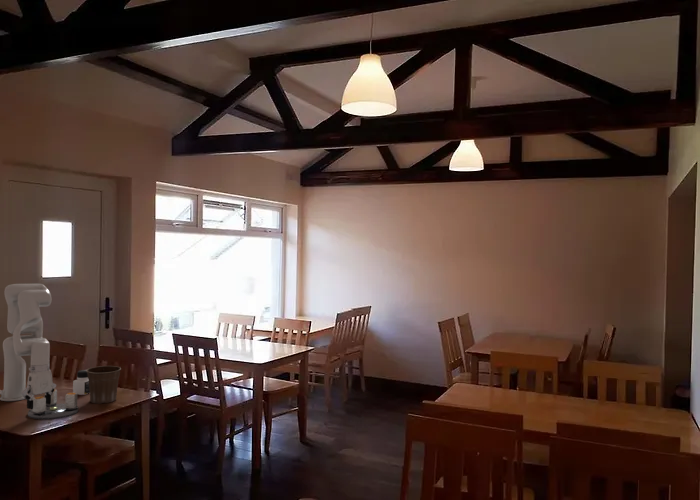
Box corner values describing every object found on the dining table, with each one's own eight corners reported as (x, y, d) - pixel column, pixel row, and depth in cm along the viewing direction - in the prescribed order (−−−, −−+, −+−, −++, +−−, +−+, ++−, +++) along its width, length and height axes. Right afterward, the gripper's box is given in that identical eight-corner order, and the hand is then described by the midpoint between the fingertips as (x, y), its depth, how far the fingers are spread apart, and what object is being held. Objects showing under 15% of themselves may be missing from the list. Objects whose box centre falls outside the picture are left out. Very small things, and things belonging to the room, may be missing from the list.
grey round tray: (19, 419, 254) (19, 414, 254) (39, 406, 275) (39, 401, 275) (68, 419, 257) (69, 413, 257) (84, 406, 278) (84, 401, 278)
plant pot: (108, 406, 279) (109, 373, 279) (78, 403, 282) (79, 371, 282) (126, 397, 295) (127, 366, 295) (98, 395, 298) (98, 365, 298)
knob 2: (43, 406, 269) (43, 390, 269) (47, 403, 274) (48, 388, 274) (54, 406, 270) (54, 390, 270) (58, 403, 275) (58, 388, 275)
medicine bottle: (84, 395, 298) (85, 372, 298) (72, 394, 300) (73, 371, 300) (93, 391, 305) (93, 369, 305) (81, 391, 307) (82, 368, 307)
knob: (35, 415, 255) (36, 398, 255) (30, 413, 258) (30, 396, 258) (46, 413, 259) (47, 396, 259) (41, 411, 262) (41, 394, 262)
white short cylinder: (63, 410, 264) (64, 394, 264) (67, 407, 269) (68, 391, 269) (74, 410, 265) (75, 394, 265) (78, 407, 270) (79, 391, 270)
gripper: (28, 372, 249) (27, 412, 249) (62, 365, 265) (61, 402, 265) (16, 370, 252) (15, 409, 252) (50, 364, 268) (49, 400, 268)
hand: (39, 406), depth 259 cm, fingers open, 8 cm apart
